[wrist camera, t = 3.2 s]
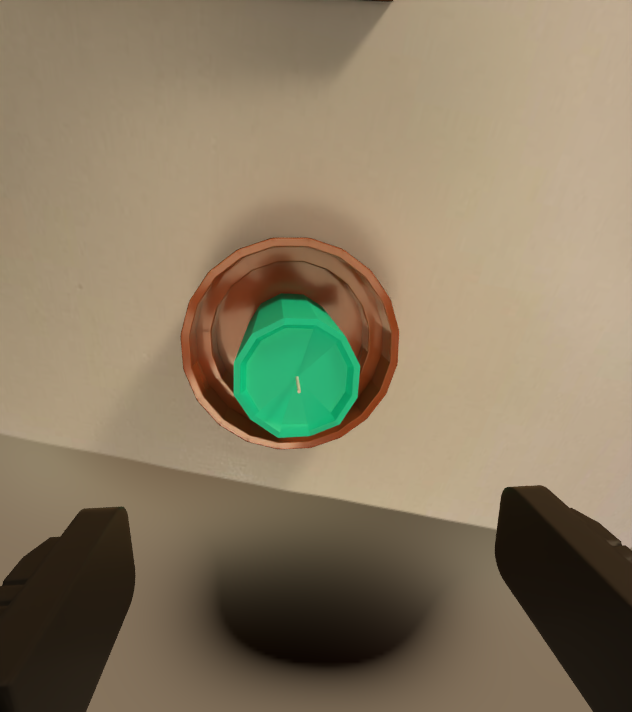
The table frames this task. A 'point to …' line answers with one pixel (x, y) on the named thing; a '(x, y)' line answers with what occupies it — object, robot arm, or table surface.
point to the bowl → (264, 281)
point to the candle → (295, 368)
